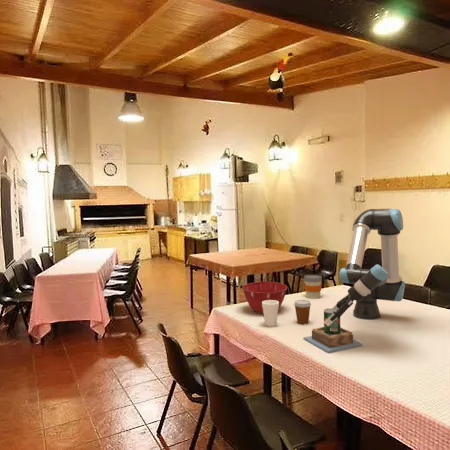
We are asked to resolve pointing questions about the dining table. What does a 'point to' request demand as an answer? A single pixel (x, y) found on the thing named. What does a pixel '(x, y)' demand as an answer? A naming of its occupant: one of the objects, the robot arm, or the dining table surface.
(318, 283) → the reusable coffee cup
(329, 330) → the canned tomato
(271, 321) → the foam cup
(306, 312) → the disposable coffee cup
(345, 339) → the walnut block
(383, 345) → the dining table surface
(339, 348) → the board
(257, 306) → the mixing bowl
